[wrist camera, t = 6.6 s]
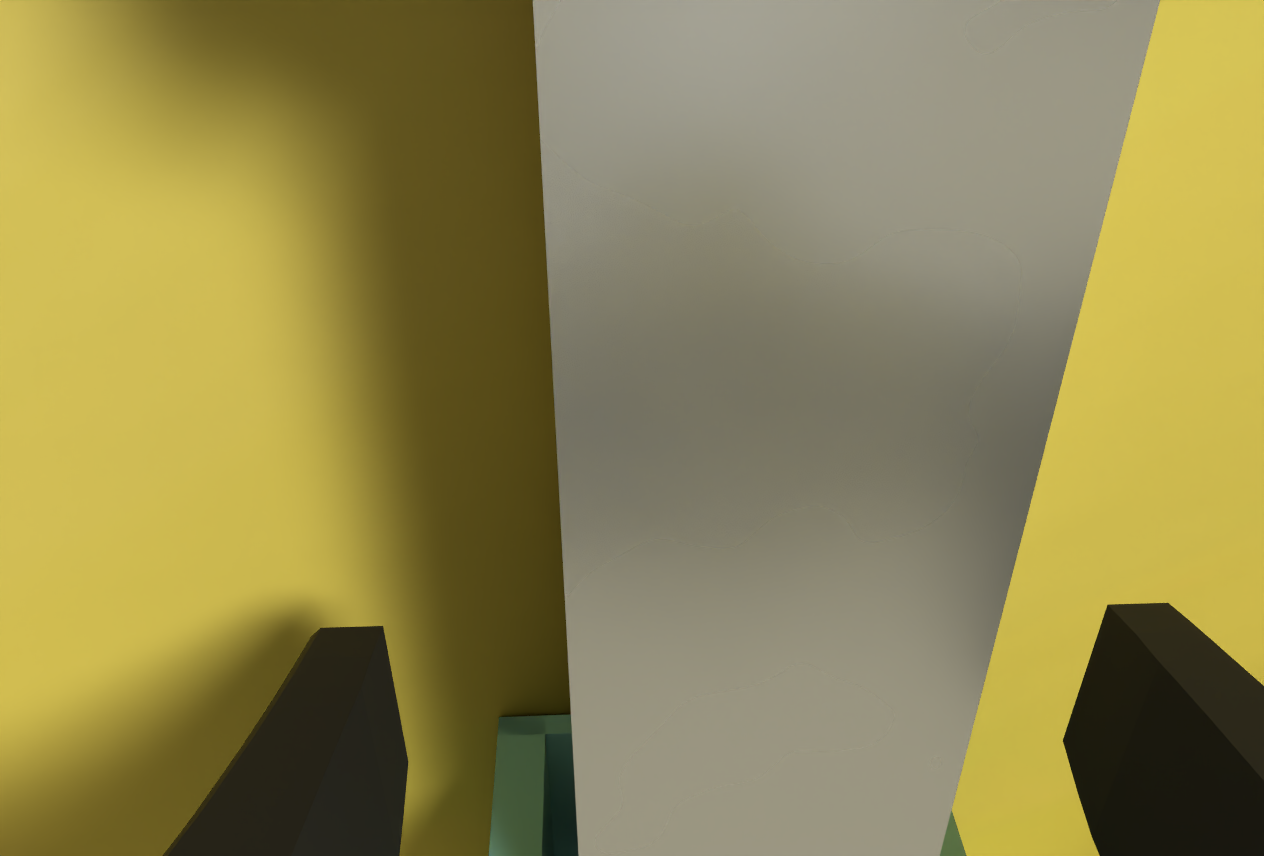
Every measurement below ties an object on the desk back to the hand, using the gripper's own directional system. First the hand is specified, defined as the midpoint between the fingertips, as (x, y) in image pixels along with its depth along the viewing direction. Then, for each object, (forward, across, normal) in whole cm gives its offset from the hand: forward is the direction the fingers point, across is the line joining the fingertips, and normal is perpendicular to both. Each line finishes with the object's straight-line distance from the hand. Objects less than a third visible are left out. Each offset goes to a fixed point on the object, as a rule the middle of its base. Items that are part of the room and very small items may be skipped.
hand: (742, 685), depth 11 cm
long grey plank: (+2, 0, -2) cm, 3 cm away
